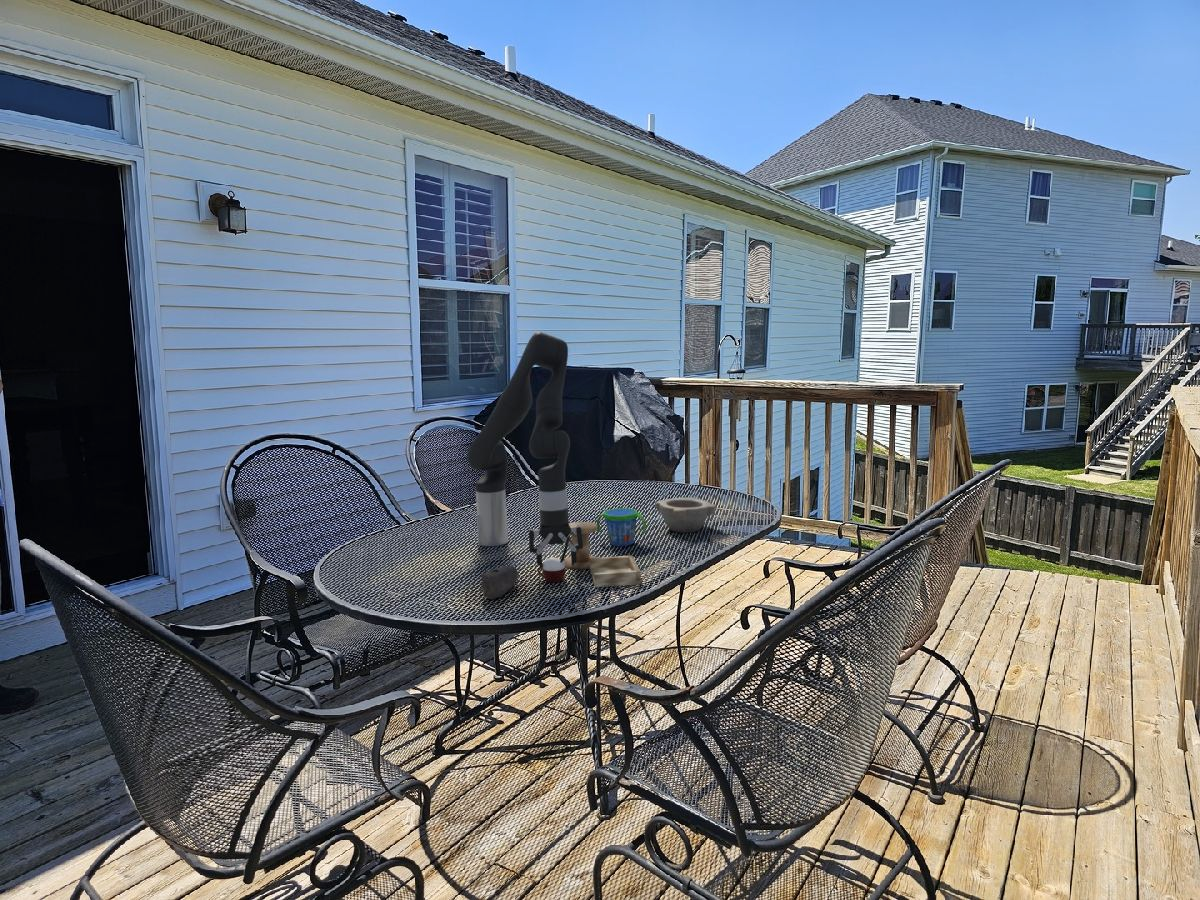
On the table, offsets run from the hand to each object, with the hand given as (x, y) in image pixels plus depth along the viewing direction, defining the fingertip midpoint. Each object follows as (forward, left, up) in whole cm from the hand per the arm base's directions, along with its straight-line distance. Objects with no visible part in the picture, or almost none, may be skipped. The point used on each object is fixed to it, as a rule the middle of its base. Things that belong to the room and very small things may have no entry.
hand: (557, 565), depth 195 cm
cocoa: (-1, 0, -4) cm, 4 cm away
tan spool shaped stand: (+7, +13, -4) cm, 15 cm away
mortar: (+44, +43, -4) cm, 62 cm away
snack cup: (+21, +31, -4) cm, 38 cm away
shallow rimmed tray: (+15, 0, -4) cm, 16 cm away
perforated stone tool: (-15, -7, -4) cm, 17 cm away
